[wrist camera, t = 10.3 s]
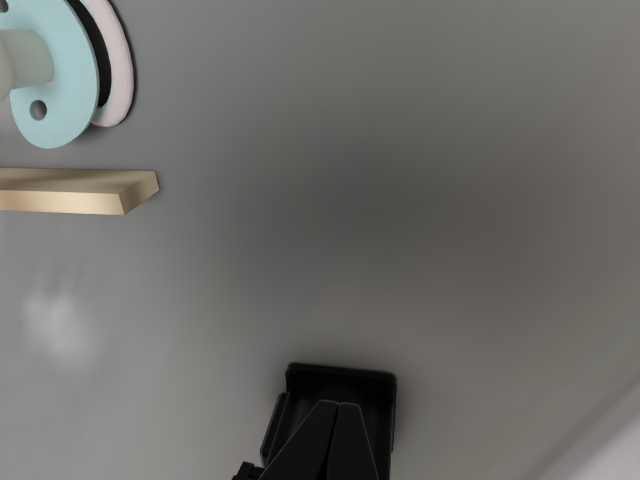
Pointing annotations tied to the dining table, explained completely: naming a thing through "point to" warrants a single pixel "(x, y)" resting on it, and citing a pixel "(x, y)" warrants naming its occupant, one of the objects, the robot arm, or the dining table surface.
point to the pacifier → (61, 69)
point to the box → (75, 190)
